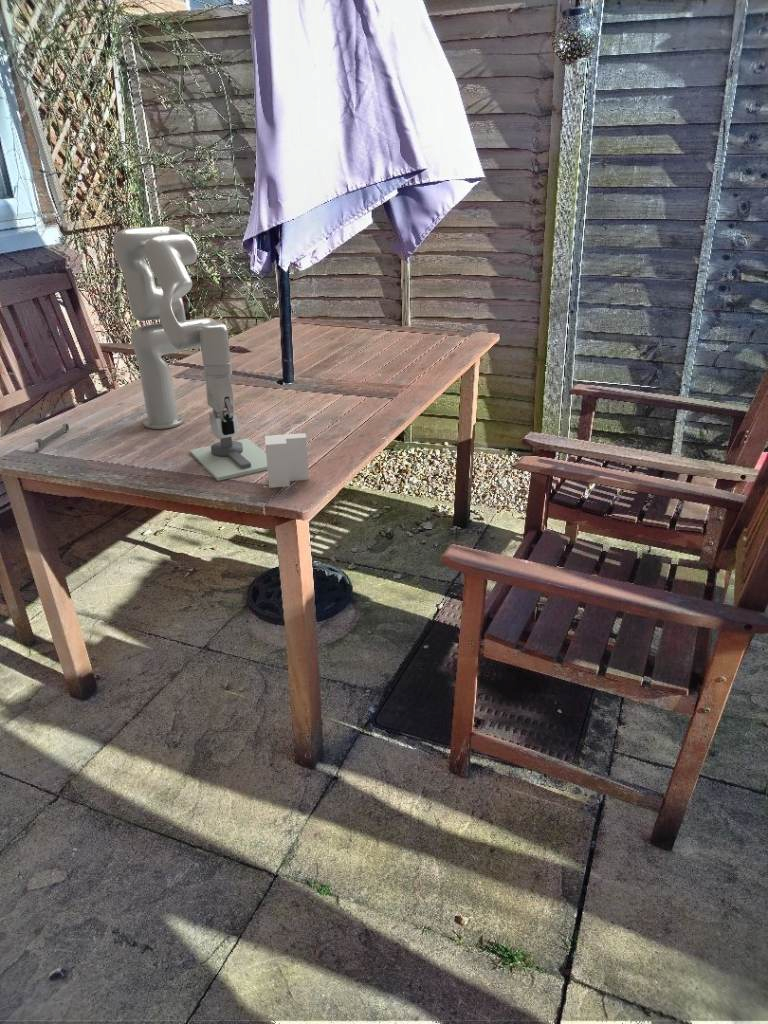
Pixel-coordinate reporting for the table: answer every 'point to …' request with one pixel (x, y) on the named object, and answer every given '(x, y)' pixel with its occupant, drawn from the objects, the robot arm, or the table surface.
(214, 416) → the brushed aluminum cube
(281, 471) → the corner bracket
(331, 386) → the table surface
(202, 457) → the board
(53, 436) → the combination wrench
